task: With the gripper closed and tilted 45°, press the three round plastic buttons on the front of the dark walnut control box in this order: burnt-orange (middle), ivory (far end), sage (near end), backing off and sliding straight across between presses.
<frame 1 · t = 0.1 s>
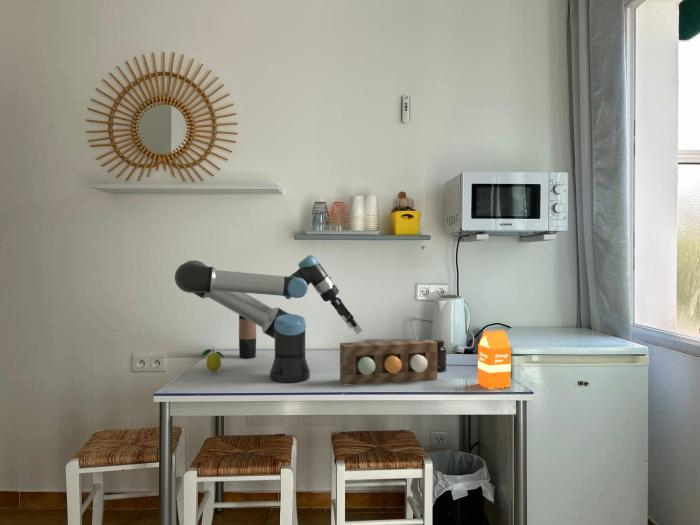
hand: (356, 329, 215), 15 cm above the table, tool tilted 35°, fingers open, 13 cm apart
supplement bottle: (437, 370, 209), on the table
lemon: (213, 372, 204), on the table
button sage: (366, 365, 186), point 7 cm above the table, slide at 0.0 cm
control box: (388, 379, 194), on the table
button ivory: (418, 363, 191), point 7 cm above the table, slide at 0.0 cm
button orange: (392, 364, 188), point 7 cm above the table, slide at 0.0 cm
orange juice: (493, 386, 186), on the table
travel mug: (247, 357, 232), on the table
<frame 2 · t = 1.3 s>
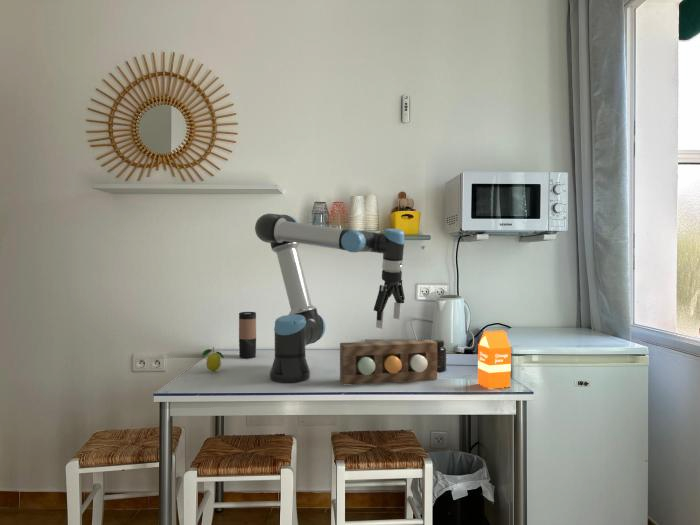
hand: (388, 323, 199), 20 cm above the table, tool pointing down, fingers open, 13 cm apart
nothing on the table moved.
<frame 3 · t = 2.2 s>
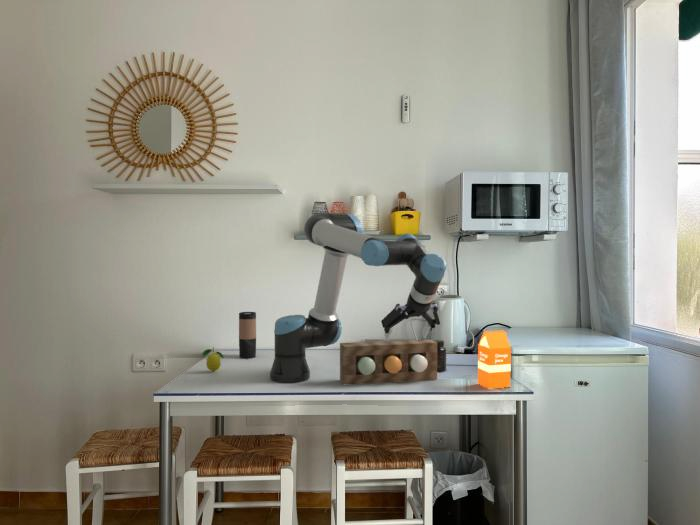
hand: (405, 336, 176), 19 cm above the table, tool tilted 45°, fingers open, 13 cm apart
nothing on the table moved.
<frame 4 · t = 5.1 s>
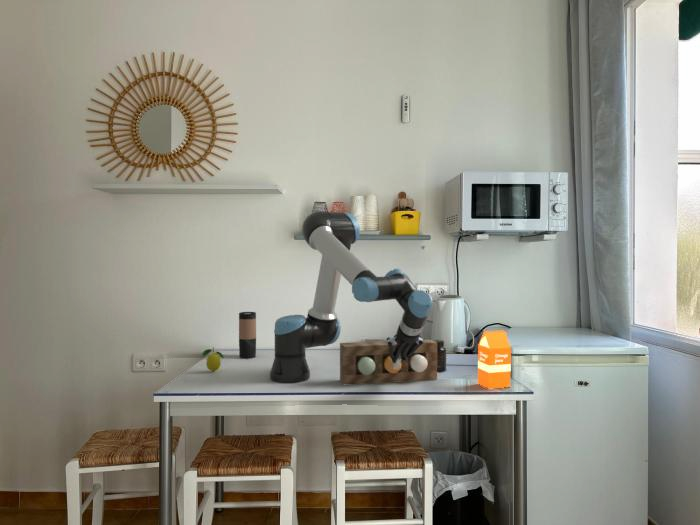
hand: (394, 366, 186), 7 cm above the table, tool tilted 45°, fingers closed
button orange: (392, 364, 189), point 7 cm above the table, slide at 0.3 cm, touching gripper
everything else where it was.
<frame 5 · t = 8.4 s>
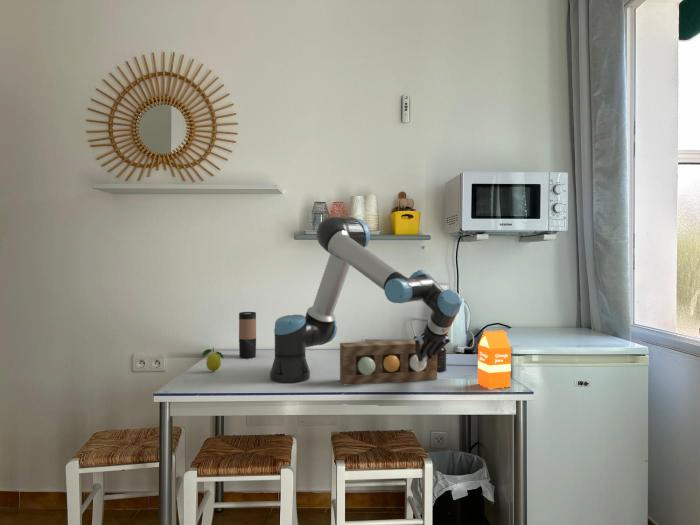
hand: (420, 364, 189), 7 cm above the table, tool tilted 45°, fingers closed
button ivory: (417, 362, 192), point 7 cm above the table, slide at 1.1 cm, touching gripper
button orange: (390, 362, 191), point 7 cm above the table, slide at 2.5 cm
everything else where it was.
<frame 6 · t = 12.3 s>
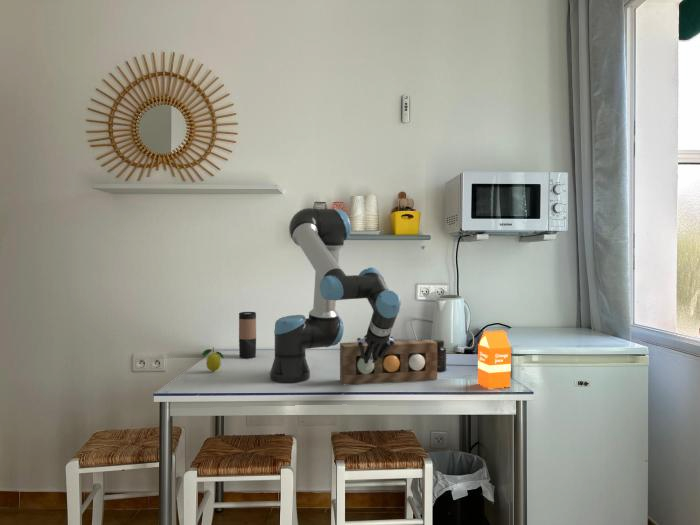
hand: (367, 366, 185), 7 cm above the table, tool tilted 45°, fingers closed
button sage: (365, 364, 188), point 7 cm above the table, slide at 1.5 cm, touching gripper
button ivory: (416, 361, 193), point 7 cm above the table, slide at 2.5 cm
everything else where it was.
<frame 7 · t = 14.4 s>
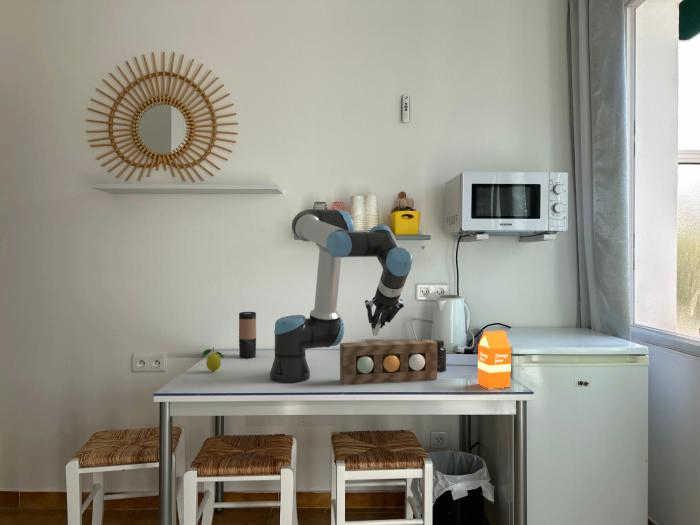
hand: (374, 332, 176), 21 cm above the table, tool tilted 45°, fingers closed
button sage: (364, 364, 189), point 7 cm above the table, slide at 2.5 cm
everything else where it was.
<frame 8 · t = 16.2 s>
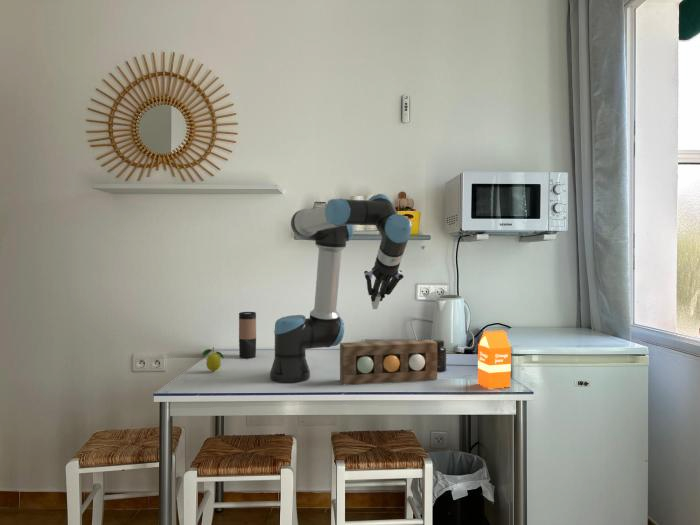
hand: (374, 305, 175), 30 cm above the table, tool tilted 45°, fingers closed
nothing on the table moved.
at the end: button orange slide at 2.5 cm; button ivory slide at 2.5 cm; button sage slide at 2.5 cm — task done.
